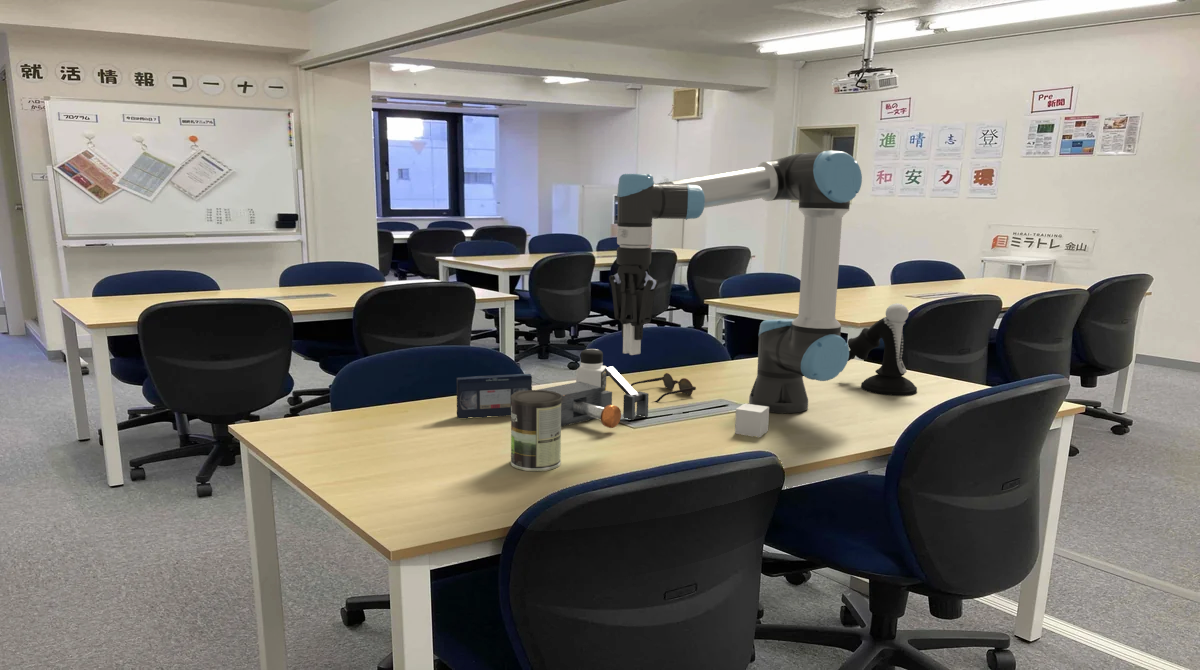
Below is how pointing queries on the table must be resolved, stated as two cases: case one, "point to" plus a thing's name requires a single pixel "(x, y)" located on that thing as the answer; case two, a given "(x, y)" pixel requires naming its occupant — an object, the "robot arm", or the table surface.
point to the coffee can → (536, 430)
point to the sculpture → (885, 353)
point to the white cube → (751, 420)
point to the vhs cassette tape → (489, 394)
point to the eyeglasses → (672, 385)
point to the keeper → (623, 383)
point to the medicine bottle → (592, 368)
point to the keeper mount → (627, 404)
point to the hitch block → (579, 393)
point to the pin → (599, 412)
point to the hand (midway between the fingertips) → (631, 353)
